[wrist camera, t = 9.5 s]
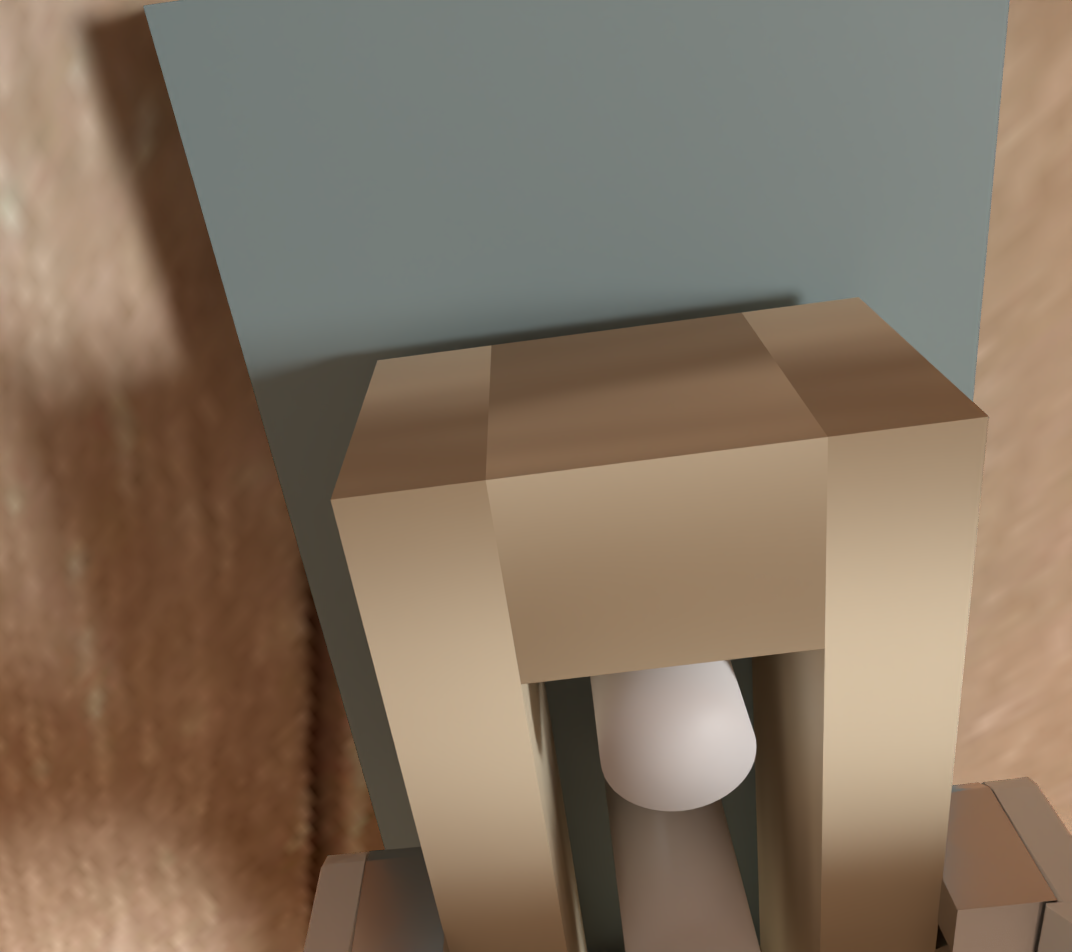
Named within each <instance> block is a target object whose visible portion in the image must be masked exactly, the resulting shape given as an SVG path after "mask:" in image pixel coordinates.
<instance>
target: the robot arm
mask: <svg viewBox="0 0 1072 952" xmlns="http://www.w3.org/2000/svg"><path fill="white" fill-rule="evenodd" d="M937 922H938V930H937V940H936V949H935V950H934V952H1072V836H1071V834H1070V833H1069V831H1068V830H1067V828H1066V827H1065V825H1064V824H1063V822H1062V821H1061V819H1060V818H1059V816H1058V815H1057V813H1056V812H1055V810H1054V809H1053V807H1052V806H1051V804H1050V803H1049V801H1048V800H1047V798H1046V797H1045V795H1044V794H1043V792H1042V791H1041V789H1040V788H1039V786H1038V785H1037V783H1035V782H1034V781H1033V780H1031V779H1030V778H1028V777H1024V778H1015V779H1006V780H998V781H989V782H983V783H979V782H976V783H968V784H960V785H952V790H951V800H950V810H949V820H948V830H947V840H946V850H945V860H944V870H943V878H942V883H941V892H940V901H939V910H938V920H937ZM303 952H450V951H449V947H448V944H447V940H446V936H445V933H444V932H443V928H442V924H441V921H440V917H439V913H438V909H437V905H436V902H435V898H434V894H433V890H432V886H431V882H430V879H429V875H428V871H427V867H426V863H425V859H424V856H423V852H422V848H421V847H410V848H399V849H387V850H376V851H370V852H359V853H348V854H338V855H328V856H327V858H326V860H325V862H324V864H323V865H322V867H321V870H320V875H319V880H318V884H317V889H316V894H315V899H314V903H313V908H312V913H311V918H310V922H309V927H308V932H307V937H306V941H305V946H304V951H303Z"/></svg>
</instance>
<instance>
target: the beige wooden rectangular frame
mask: <svg viewBox="0 0 1072 952" xmlns="http://www.w3.org/2000/svg"><path fill="white" fill-rule="evenodd" d="M988 421H989V416H988V415H987V414H986V413H984V412H983V411H982V410H981V409H980V408H979V407H978V406H977V405H976V404H975V403H974V402H972V401H971V400H970V399H969V398H968V397H967V396H966V395H965V394H964V393H963V392H962V391H960V390H959V389H958V388H957V387H956V386H955V385H954V384H953V383H952V382H951V381H950V380H948V379H947V378H946V377H945V376H944V375H943V374H942V373H941V372H940V371H939V370H938V369H936V368H935V367H934V366H933V365H932V364H931V363H930V362H929V361H928V360H927V359H926V358H924V357H923V356H922V355H921V354H920V353H919V352H918V351H917V350H916V349H915V348H914V347H912V346H911V345H910V344H909V343H908V342H907V341H906V340H905V339H904V338H903V337H902V336H900V335H899V334H898V333H897V332H896V331H895V330H894V329H893V328H892V327H891V326H890V325H888V324H887V323H886V322H885V321H884V320H883V319H882V318H881V317H880V316H879V315H878V314H876V313H875V312H874V311H873V310H872V309H871V308H870V307H869V306H868V305H867V304H866V303H864V302H863V301H862V300H861V299H860V298H859V297H856V298H848V299H841V300H833V301H825V302H818V303H810V304H803V305H795V306H787V307H780V308H772V309H765V310H757V311H749V312H742V313H734V314H726V315H719V316H711V317H704V318H696V319H688V320H681V321H673V322H666V323H658V324H650V325H643V326H635V327H627V328H620V329H612V330H605V331H597V332H589V333H582V334H574V335H567V336H559V337H551V338H544V339H536V340H528V341H521V342H513V343H506V344H498V345H490V346H483V347H475V348H468V349H460V350H452V351H445V352H437V353H429V354H422V355H414V356H407V357H399V358H391V359H384V360H377V363H376V366H375V369H374V372H373V375H372V378H371V381H370V384H369V387H368V390H367V393H366V396H365V399H364V402H363V405H362V408H361V411H360V414H359V417H358V420H357V423H356V426H355V429H354V432H353V434H352V437H351V440H350V443H349V446H348V449H347V452H346V455H345V458H344V461H343V464H342V467H341V470H340V473H339V476H338V479H337V482H336V485H335V488H334V491H333V494H332V497H331V504H332V507H333V511H334V515H335V519H336V523H337V527H338V530H339V534H340V538H341V542H342V546H343V549H344V553H345V557H346V561H347V565H348V569H349V572H350V576H351V580H352V584H353V588H354V592H355V595H356V599H357V603H358V607H359V611H360V615H361V618H362V622H363V626H364V630H365V634H366V637H367V641H368V645H369V649H370V653H371V657H372V660H373V664H374V668H375V672H376V676H377V680H378V683H379V687H380V691H381V695H382V699H383V703H384V706H385V710H386V714H387V718H388V722H389V726H390V729H391V733H392V737H393V741H394V745H395V748H396V752H397V756H398V760H399V764H400V768H401V771H402V775H403V779H404V783H405V787H406V791H407V794H408V798H409V802H410V806H411V810H412V814H413V817H414V821H415V825H416V829H417V833H418V836H419V840H420V844H421V848H422V852H423V856H424V859H425V863H426V867H427V871H428V875H429V879H430V882H431V886H432V890H433V894H434V898H435V902H436V905H437V909H438V913H439V917H440V921H441V924H442V928H443V932H444V933H445V936H446V940H447V944H448V947H449V951H450V952H587V946H586V940H585V934H584V927H583V921H582V915H581V908H580V902H579V896H578V889H577V883H576V877H575V871H574V864H573V858H572V852H571V845H570V839H569V833H568V826H567V820H566V814H565V807H564V801H563V795H562V788H561V782H560V776H559V769H558V763H557V757H556V750H555V744H554V738H553V732H552V725H551V719H550V713H549V706H548V700H547V694H546V687H545V681H554V680H562V679H571V678H579V677H588V676H596V675H604V674H613V673H621V672H630V671H638V670H647V669H655V668H664V667H672V666H680V665H689V664H697V663H706V662H714V661H723V660H731V659H740V658H748V657H752V682H753V715H754V735H755V738H756V756H755V783H756V817H757V850H758V884H759V918H760V946H759V947H760V951H761V952H934V950H935V949H936V940H937V930H938V922H937V920H938V910H939V901H940V892H941V883H942V878H943V870H944V860H945V850H946V840H947V830H948V820H949V810H950V800H951V790H952V780H953V770H954V760H955V750H956V740H957V730H958V720H959V710H960V700H961V691H962V681H963V671H964V661H965V651H966V641H967V631H968V621H969V611H970V601H971V591H972V581H973V571H974V561H975V551H976V541H977V531H978V521H979V511H980V501H981V491H982V481H983V471H984V461H985V451H986V441H987V431H988Z"/></svg>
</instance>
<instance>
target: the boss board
mask: <svg viewBox="0 0 1072 952" xmlns="http://www.w3.org/2000/svg"><path fill="white" fill-rule="evenodd" d="M1009 1H1010V0H179V1H172V2H165V3H158V4H152V5H145V6H143V7H144V10H145V14H146V17H147V21H148V24H149V28H150V31H151V35H152V38H153V42H154V45H155V49H156V52H157V56H158V59H159V63H160V66H161V70H162V73H163V77H164V80H165V84H166V87H167V91H168V94H169V98H170V101H171V105H172V108H173V112H174V115H175V118H176V122H177V125H178V129H179V132H180V136H181V139H182V143H183V146H184V150H185V153H186V157H187V160H188V164H189V167H190V171H191V174H192V178H193V181H194V185H195V188H196V192H197V195H198V199H199V202H200V206H201V209H202V213H203V216H204V220H205V223H206V227H207V230H208V234H209V237H210V241H211V244H212V248H213V251H214V254H215V258H216V261H217V265H218V268H219V272H220V275H221V279H222V282H223V286H224V289H225V293H226V296H227V300H228V303H229V307H230V310H231V314H232V317H233V321H234V324H235V328H236V331H237V335H238V338H239V342H240V345H241V349H242V352H243V356H244V359H245V363H246V366H247V370H248V373H249V377H250V380H251V384H252V387H253V390H254V394H255V397H256V401H257V404H258V408H259V411H260V415H261V418H262V422H263V425H264V429H265V432H266V436H267V439H268V443H269V446H270V450H271V453H272V457H273V460H274V464H275V467H276V471H277V474H278V478H279V481H280V485H281V488H282V492H283V495H284V499H285V502H286V506H287V509H288V513H289V516H290V520H291V523H292V527H293V530H294V533H295V537H296V540H297V544H298V547H299V551H300V554H301V558H302V561H303V565H304V568H305V572H306V575H307V579H308V582H309V586H310V589H311V593H312V596H313V600H314V603H315V607H316V610H317V614H318V617H319V621H320V624H321V628H322V631H323V635H324V638H325V642H326V645H327V649H328V652H329V656H330V659H331V663H332V666H333V669H334V673H335V676H336V680H337V683H338V687H339V690H340V694H341V697H342V701H343V704H344V708H345V711H346V715H347V718H348V722H349V725H350V729H351V732H352V736H353V739H354V743H355V746H356V750H357V753H358V757H359V760H360V764H361V767H362V771H363V774H364V778H365V781H366V785H367V788H368V792H369V795H370V799H371V802H372V806H373V809H374V812H375V816H376V819H377V823H378V826H379V830H380V833H381V837H382V840H383V844H384V847H385V850H387V849H399V848H410V847H421V844H420V840H419V836H418V833H417V829H416V825H415V821H414V817H413V814H412V810H411V806H410V802H409V798H408V794H407V791H406V787H405V783H404V779H403V775H402V771H401V768H400V764H399V760H398V756H397V752H396V748H395V745H394V741H393V737H392V733H391V729H390V726H389V722H388V718H387V714H386V710H385V706H384V703H383V699H382V695H381V691H380V687H379V683H378V680H377V676H376V672H375V668H374V664H373V660H372V657H371V653H370V649H369V645H368V641H367V637H366V634H365V630H364V626H363V622H362V618H361V615H360V611H359V607H358V603H357V599H356V595H355V592H354V588H353V584H352V580H351V576H350V572H349V569H348V565H347V561H346V557H345V553H344V549H343V546H342V542H341V538H340V534H339V530H338V527H337V523H336V519H335V515H334V511H333V507H332V504H331V497H332V494H333V491H334V488H335V485H336V482H337V479H338V476H339V473H340V470H341V467H342V464H343V461H344V458H345V455H346V452H347V449H348V446H349V443H350V440H351V437H352V434H353V432H354V429H355V426H356V423H357V420H358V417H359V414H360V411H361V408H362V405H363V402H364V399H365V396H366V393H367V390H368V387H369V384H370V381H371V378H372V375H373V372H374V369H375V366H376V363H377V360H384V359H391V358H399V357H407V356H414V355H422V354H429V353H437V352H445V351H452V350H460V349H468V348H475V347H483V346H490V345H498V344H506V343H513V342H521V341H528V340H536V339H544V338H551V337H559V336H567V335H574V334H582V333H589V332H597V331H605V330H612V329H620V328H627V327H635V326H643V325H650V324H658V323H666V322H673V321H681V320H688V319H696V318H704V317H711V316H719V315H726V314H734V313H742V312H749V311H757V310H765V309H772V308H780V307H787V306H795V305H803V304H810V303H818V302H825V301H833V300H841V299H848V298H856V297H859V298H860V299H861V300H862V301H863V302H864V303H866V304H867V305H868V306H869V307H870V308H871V309H872V310H873V311H874V312H875V313H876V314H878V315H879V316H880V317H881V318H882V319H883V320H884V321H885V322H886V323H887V324H888V325H890V326H891V327H892V328H893V329H894V330H895V331H896V332H897V333H898V334H899V335H900V336H902V337H903V338H904V339H905V340H906V341H907V342H908V343H909V344H910V345H911V346H912V347H914V348H915V349H916V350H917V351H918V352H919V353H920V354H921V355H922V356H923V357H924V358H926V359H927V360H928V361H929V362H930V363H931V364H932V365H933V366H934V367H935V368H936V369H938V370H939V371H940V372H941V373H942V374H943V375H944V376H945V377H946V378H947V379H948V380H950V381H951V382H952V383H953V384H954V385H955V386H956V387H957V388H958V389H959V390H960V391H962V392H963V393H964V394H965V395H966V396H967V397H968V398H969V399H970V400H971V401H972V402H973V395H974V384H975V373H976V362H977V351H978V340H979V329H980V318H981V307H982V296H983V285H984V275H985V264H986V253H987V242H988V231H989V220H990V209H991V198H992V187H993V176H994V165H995V154H996V143H997V132H998V121H999V110H1000V99H1001V88H1002V77H1003V66H1004V55H1005V44H1006V34H1007V23H1008V12H1009ZM545 687H546V694H547V700H548V706H549V713H550V719H551V725H552V732H553V738H554V744H555V750H556V757H557V763H558V769H559V776H560V782H561V788H562V795H563V801H564V807H565V814H566V820H567V826H568V833H569V839H570V845H571V852H572V858H573V864H574V871H575V877H576V883H577V889H578V896H579V902H580V908H581V915H582V921H583V927H584V934H585V940H586V946H587V952H761V951H760V947H759V946H760V918H759V884H758V850H757V817H756V783H755V756H756V738H755V735H754V715H753V682H752V657H748V658H740V659H731V660H723V661H714V662H706V663H697V664H689V665H680V666H672V667H664V668H655V669H647V670H638V671H630V672H621V673H613V674H604V675H596V676H588V677H579V678H571V679H562V680H554V681H545Z"/></svg>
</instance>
